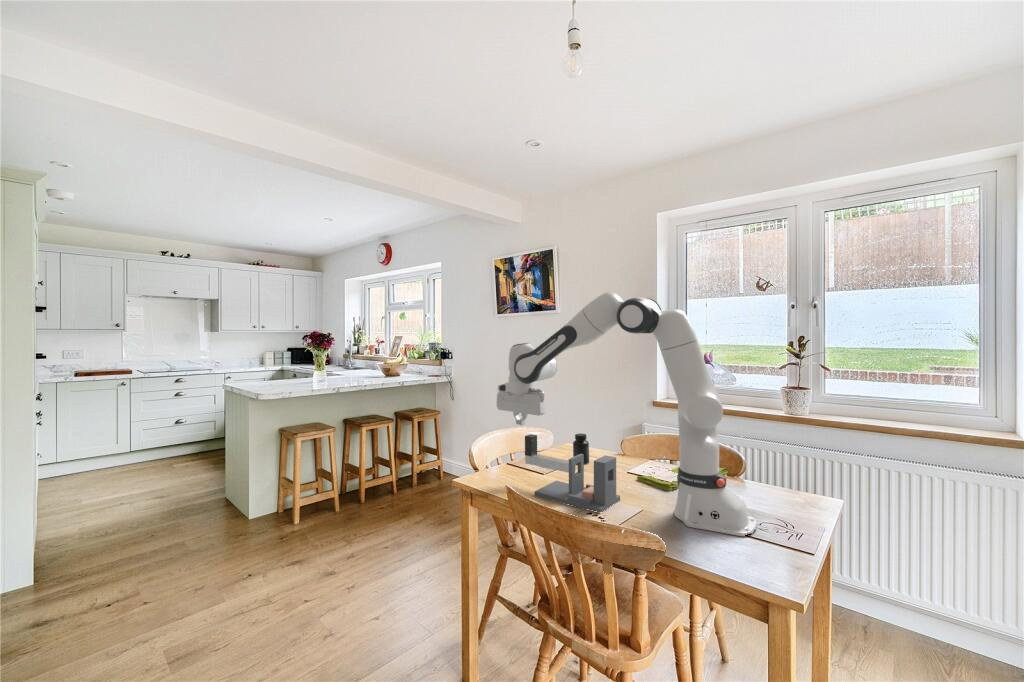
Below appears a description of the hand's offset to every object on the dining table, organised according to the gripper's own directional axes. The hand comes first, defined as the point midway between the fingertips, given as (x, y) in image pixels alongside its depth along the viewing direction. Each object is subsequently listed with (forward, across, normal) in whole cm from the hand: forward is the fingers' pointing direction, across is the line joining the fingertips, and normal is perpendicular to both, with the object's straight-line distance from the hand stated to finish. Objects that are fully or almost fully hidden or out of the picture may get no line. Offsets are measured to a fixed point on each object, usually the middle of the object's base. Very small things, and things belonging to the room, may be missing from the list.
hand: (520, 424), depth 165 cm
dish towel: (+22, -46, -44) cm, 67 cm away
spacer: (+18, -30, 0) cm, 34 cm away
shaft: (+13, -13, 0) cm, 19 cm away
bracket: (+22, -24, 0) cm, 32 cm away
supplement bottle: (+22, -5, -37) cm, 43 cm away
